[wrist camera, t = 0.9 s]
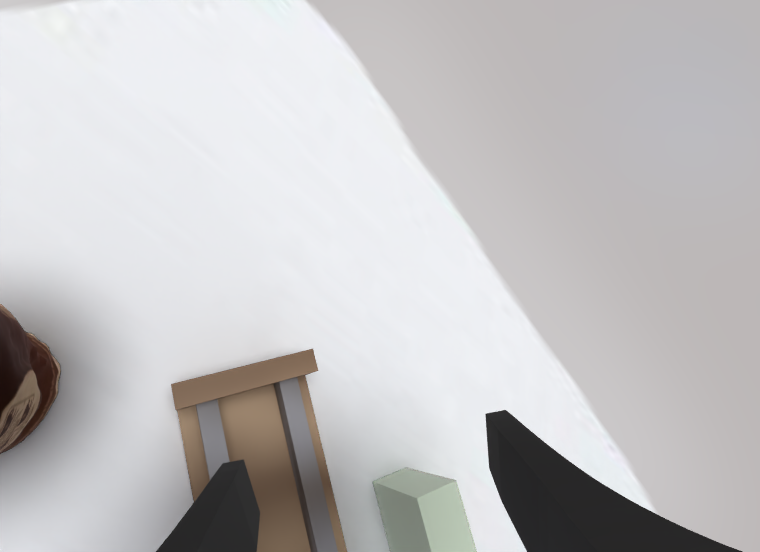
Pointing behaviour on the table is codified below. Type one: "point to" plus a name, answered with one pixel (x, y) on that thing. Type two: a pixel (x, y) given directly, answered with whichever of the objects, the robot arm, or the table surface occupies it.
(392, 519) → the door panel
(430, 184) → the table surface
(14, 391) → the coffee cup
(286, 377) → the track sill
